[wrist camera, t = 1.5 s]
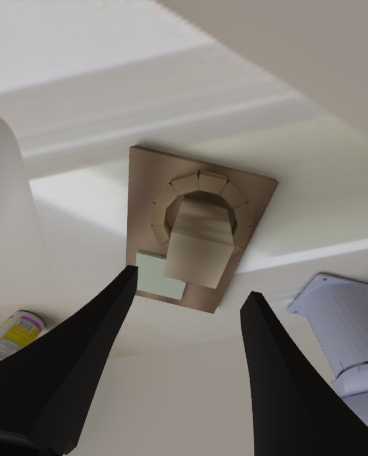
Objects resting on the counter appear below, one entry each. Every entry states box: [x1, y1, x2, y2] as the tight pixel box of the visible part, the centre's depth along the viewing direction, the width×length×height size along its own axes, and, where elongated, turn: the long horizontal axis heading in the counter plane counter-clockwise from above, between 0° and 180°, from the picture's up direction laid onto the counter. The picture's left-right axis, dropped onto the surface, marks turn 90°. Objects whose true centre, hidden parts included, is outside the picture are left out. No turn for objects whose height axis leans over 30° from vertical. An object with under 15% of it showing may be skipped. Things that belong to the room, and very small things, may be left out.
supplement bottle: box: [0, 311, 44, 361], centre depth 33 cm, size 7×7×13 cm
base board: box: [126, 145, 279, 314], centre depth 22 cm, size 14×21×3 cm, turn 169°
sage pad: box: [136, 250, 186, 300], centre depth 24 cm, size 7×7×1 cm
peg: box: [163, 195, 234, 289], centre depth 16 cm, size 4×4×7 cm
